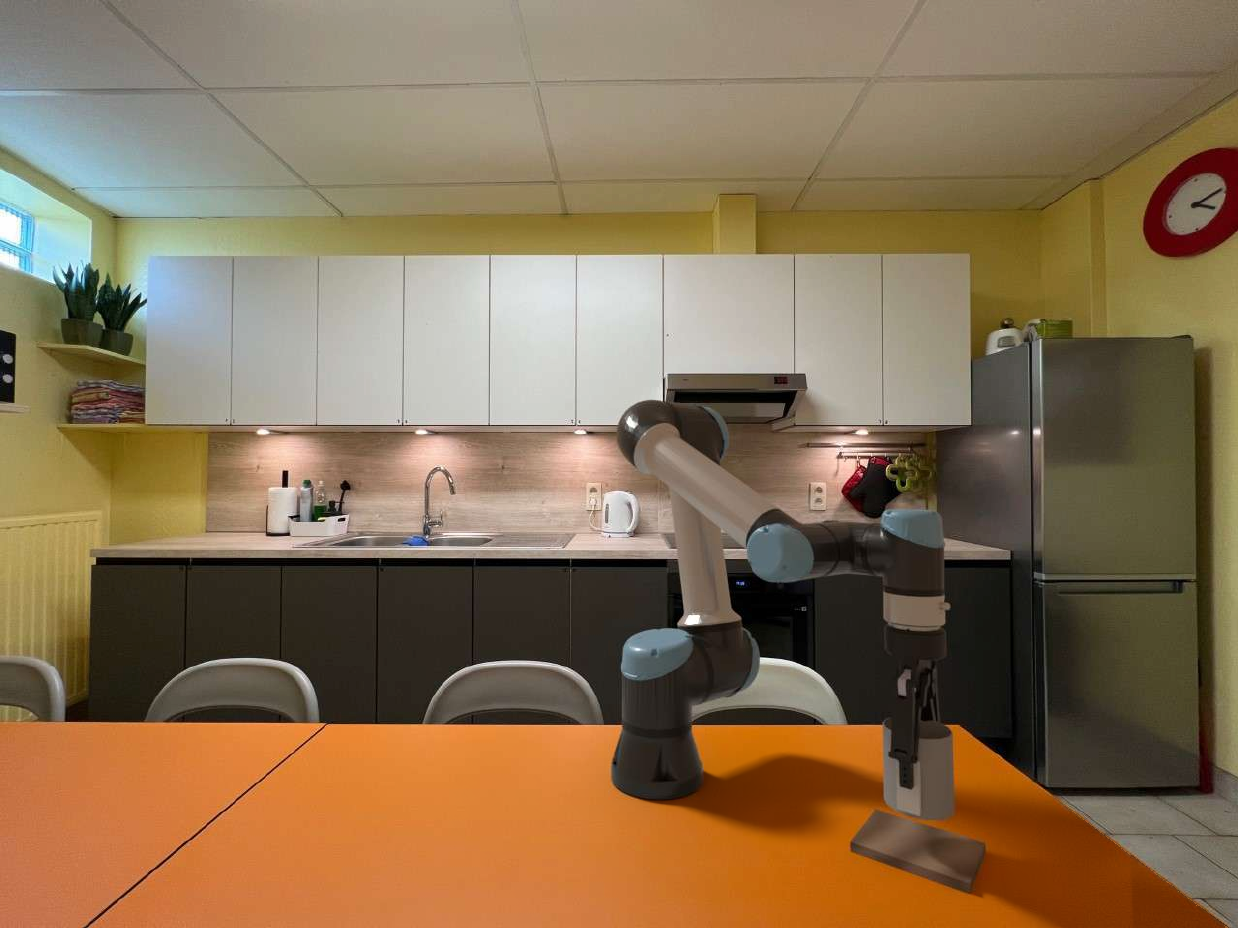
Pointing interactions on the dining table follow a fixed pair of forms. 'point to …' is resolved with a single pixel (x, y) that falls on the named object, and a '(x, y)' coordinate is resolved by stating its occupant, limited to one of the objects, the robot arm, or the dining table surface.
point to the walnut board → (920, 849)
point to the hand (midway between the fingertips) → (918, 797)
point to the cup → (925, 771)
